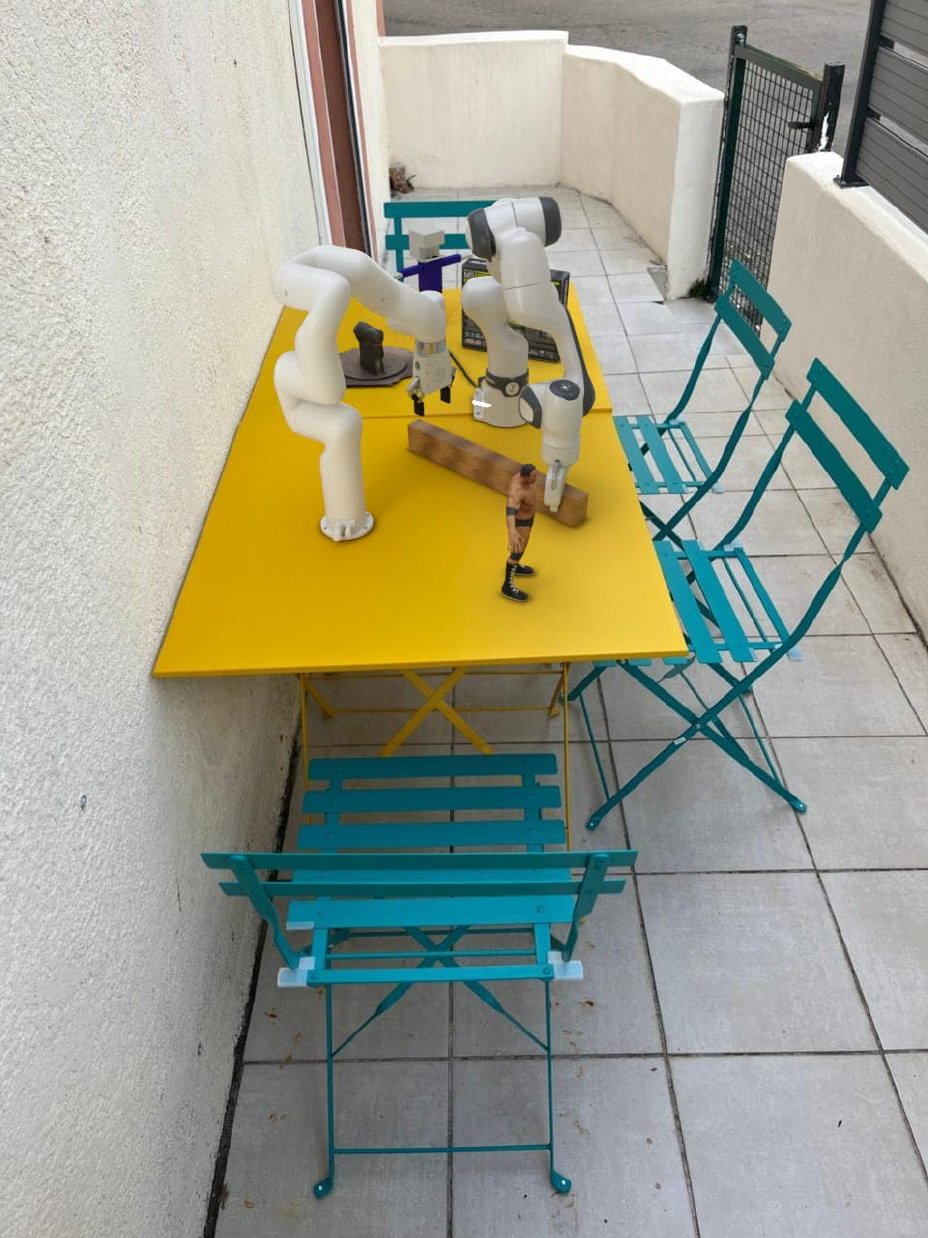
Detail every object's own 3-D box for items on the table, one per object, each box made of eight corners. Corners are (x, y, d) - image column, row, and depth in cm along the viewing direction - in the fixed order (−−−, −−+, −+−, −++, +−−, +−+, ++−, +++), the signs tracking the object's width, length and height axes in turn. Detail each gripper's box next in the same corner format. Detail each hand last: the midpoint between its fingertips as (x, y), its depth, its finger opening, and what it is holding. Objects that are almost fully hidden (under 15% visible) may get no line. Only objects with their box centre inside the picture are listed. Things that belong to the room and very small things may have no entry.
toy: (460, 304, 319) (459, 216, 299) (477, 312, 313) (477, 222, 294) (381, 329, 302) (375, 237, 283) (398, 337, 296) (393, 244, 277)
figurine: (524, 621, 184) (530, 498, 165) (494, 617, 185) (497, 494, 166) (540, 553, 202) (547, 435, 183) (512, 550, 203) (516, 432, 184)
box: (565, 354, 285) (571, 269, 268) (558, 363, 280) (563, 277, 263) (468, 339, 295) (468, 256, 278) (460, 347, 290) (459, 264, 272)
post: (408, 449, 240) (407, 424, 235) (420, 443, 242) (419, 418, 237) (574, 527, 211) (576, 500, 206) (585, 519, 213) (588, 493, 208)
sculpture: (406, 397, 263) (403, 345, 252) (297, 384, 270) (290, 333, 259) (437, 352, 287) (436, 303, 277) (336, 341, 294) (331, 293, 284)
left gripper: (416, 359, 210) (419, 424, 221) (465, 337, 220) (465, 401, 231) (394, 350, 214) (398, 415, 225) (443, 329, 224) (445, 392, 235)
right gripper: (567, 475, 197) (563, 526, 205) (579, 431, 212) (575, 481, 221) (539, 471, 198) (536, 523, 207) (553, 428, 213) (550, 478, 222)
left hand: (432, 408), depth 228 cm, fingers open, 9 cm apart
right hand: (556, 501), depth 214 cm, fingers closed on post, 6 cm apart
